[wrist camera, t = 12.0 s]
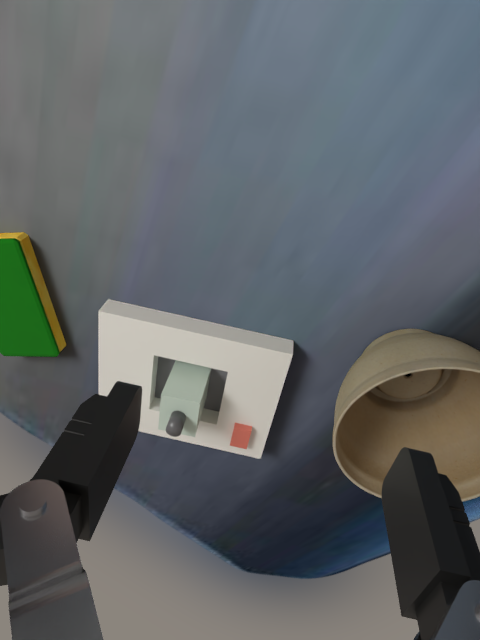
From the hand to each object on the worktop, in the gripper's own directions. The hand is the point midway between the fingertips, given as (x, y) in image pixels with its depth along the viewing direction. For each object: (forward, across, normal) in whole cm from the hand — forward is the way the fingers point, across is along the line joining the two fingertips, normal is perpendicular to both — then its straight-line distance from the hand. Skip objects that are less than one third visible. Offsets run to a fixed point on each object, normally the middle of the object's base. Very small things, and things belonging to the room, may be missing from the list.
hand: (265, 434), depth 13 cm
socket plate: (+28, +6, +23) cm, 37 cm away
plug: (+28, +6, +23) cm, 36 cm away
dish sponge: (+29, +26, +17) cm, 42 cm away
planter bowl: (+28, -16, +15) cm, 36 cm away
